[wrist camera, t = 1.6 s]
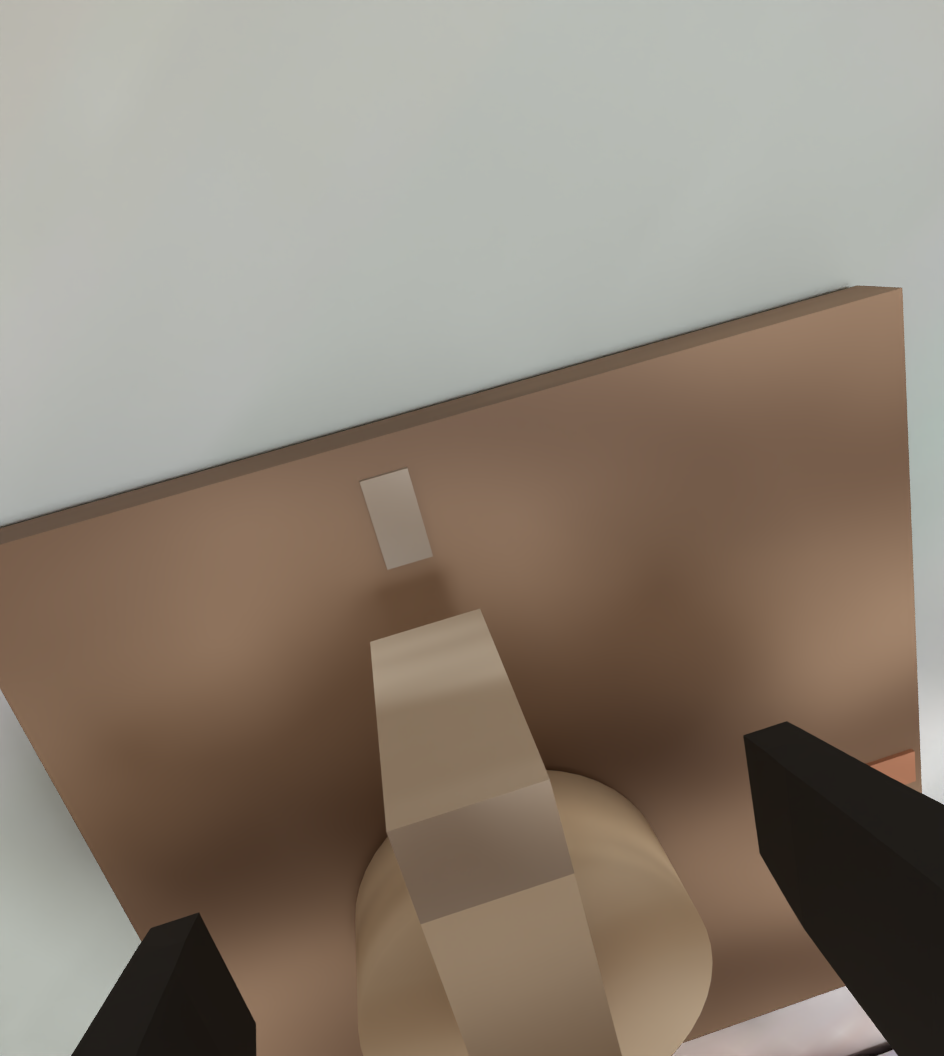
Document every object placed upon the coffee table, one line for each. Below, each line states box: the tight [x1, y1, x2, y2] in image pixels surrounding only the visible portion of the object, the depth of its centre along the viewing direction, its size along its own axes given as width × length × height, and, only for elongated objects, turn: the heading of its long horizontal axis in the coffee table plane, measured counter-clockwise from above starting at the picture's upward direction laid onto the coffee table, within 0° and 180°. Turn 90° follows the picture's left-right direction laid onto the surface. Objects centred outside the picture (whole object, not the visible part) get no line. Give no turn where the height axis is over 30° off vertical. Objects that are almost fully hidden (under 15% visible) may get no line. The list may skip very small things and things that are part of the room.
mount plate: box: [0, 286, 922, 1056], centre depth 16 cm, size 16×16×1 cm
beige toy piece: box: [355, 609, 713, 1056], centre depth 12 cm, size 11×6×6 cm, turn 14°
